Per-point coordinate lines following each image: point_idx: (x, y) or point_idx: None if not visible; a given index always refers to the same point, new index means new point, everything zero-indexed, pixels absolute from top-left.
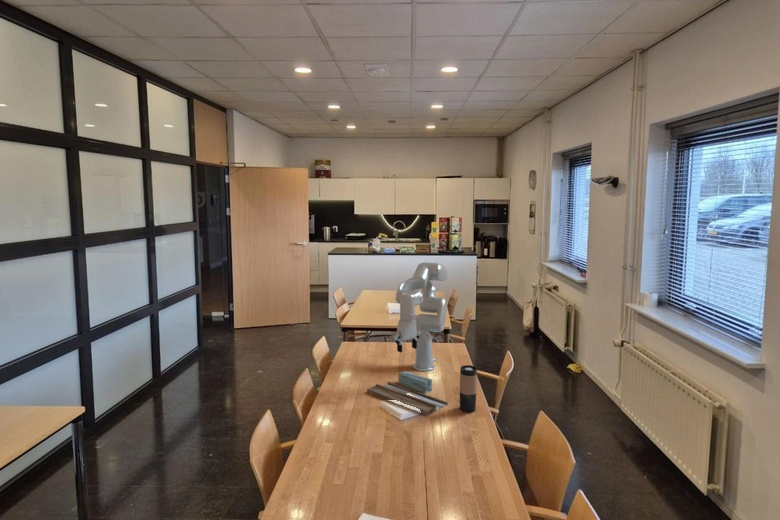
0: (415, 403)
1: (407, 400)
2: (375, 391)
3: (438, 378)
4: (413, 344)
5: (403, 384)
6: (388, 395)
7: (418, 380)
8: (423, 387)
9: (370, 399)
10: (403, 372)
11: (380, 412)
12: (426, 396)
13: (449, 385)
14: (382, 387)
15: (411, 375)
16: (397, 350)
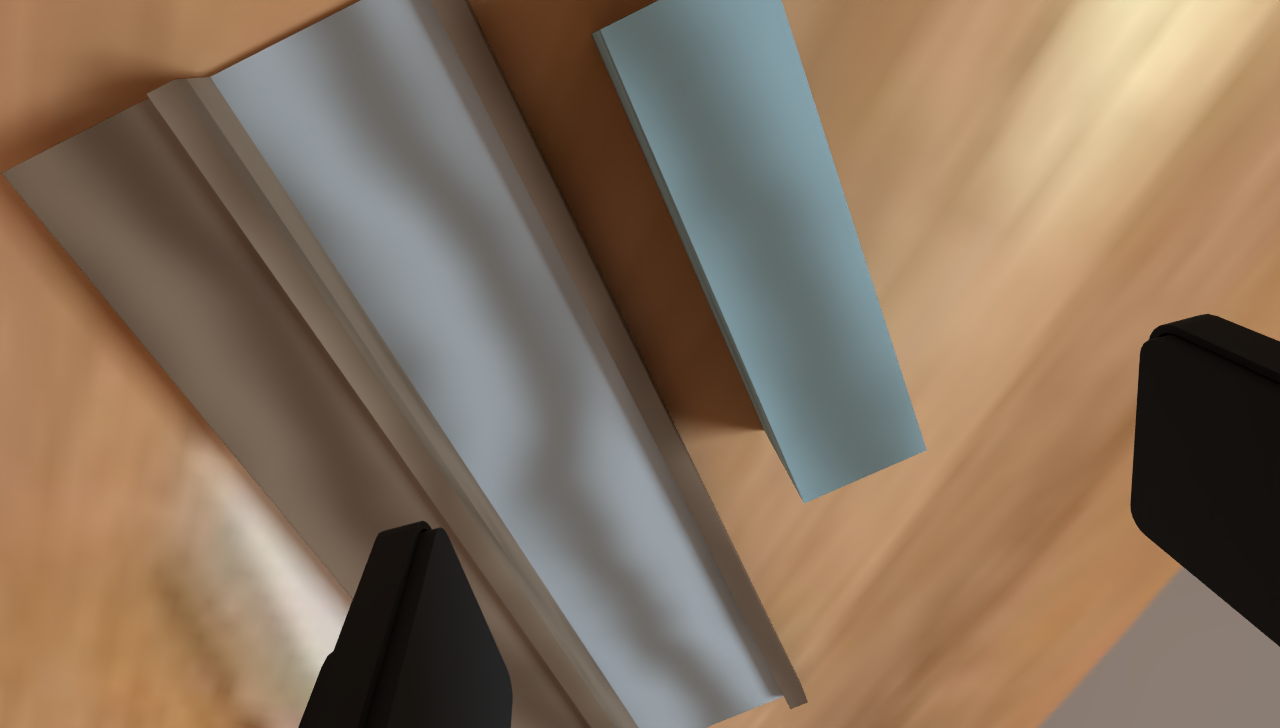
0: None
1: None
2: (126, 303)
3: (1189, 68)
4: (1271, 503)
5: (631, 124)
6: (284, 467)
7: (759, 402)
8: (769, 433)
9: (72, 374)
10: (708, 3)
11: (150, 664)
12: (709, 545)
13: (1122, 330)
14: (250, 231)
15: (761, 205)
16: (380, 546)
